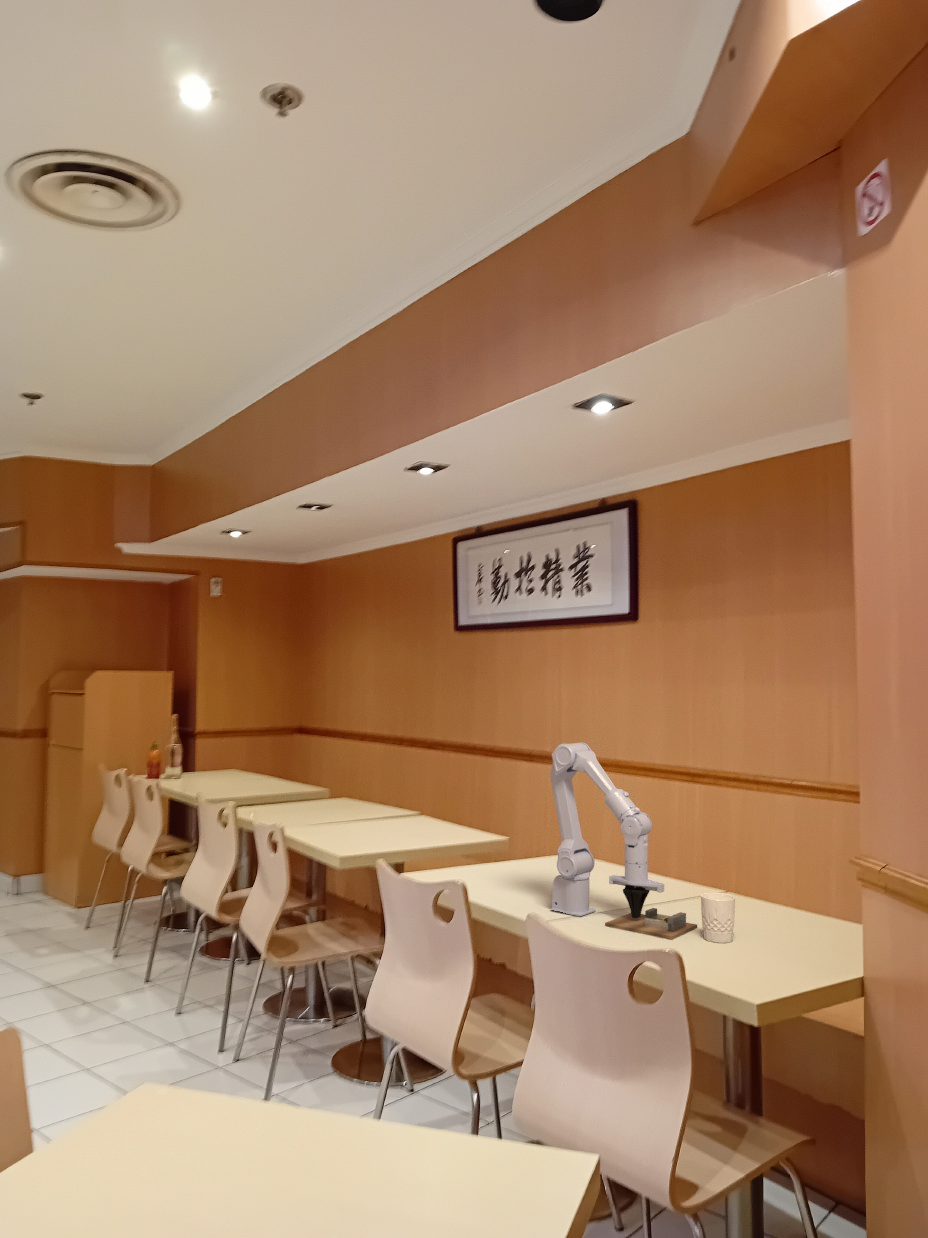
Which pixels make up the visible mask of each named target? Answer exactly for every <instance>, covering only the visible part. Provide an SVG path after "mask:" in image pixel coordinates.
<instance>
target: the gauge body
mask: <svg viewBox="0 0 928 1238" xmlns="http://www.w3.org/2000/svg"><path fill="white" fill-rule="evenodd" d="M657 915H661V916H667V917H668V921H662V920H658V919H653V918H648V917H646V918H645V927H650V928H655V929H660V930H665V931H670V932H675V931H677V930H680V929H682V928H684V927H686V923H687V913H686V912H682V911H681V912H677V913H675V914H673V915H666V914H661V913H657Z"/></svg>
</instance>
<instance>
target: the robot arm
mask: <svg viewBox="0 0 928 1238" xmlns="http://www.w3.org/2000/svg"><path fill="white" fill-rule="evenodd" d="M551 759H552V765H551V769H550V781H551V782H550V784H551V789H552V795H553V799H554V804H555V811H556V816H557V822H558V827H559V832H560V838H561V843H560V845H558V848H557V861H556V868H557V871H558V873H559V875H556V876H555V877H554V878H553V881H552V886H551V908H550V909H551V910H556V911H560V912H563V913H562V914H565V913H566V914H567V915H571V916H577V917H583V916H586V915H588V914H591V913H594V912H596V910H597V909H596V908H592V907H590V877H591V872H592V871H593V870H594V869H595V858H594V855H593V854H592V852H591V851H590V846H589V844H588V843H587V842H586V840H585V839H584V838H583V835H582V829H581V824H580V819H579V818H580V817H579V814H578V813H579V812H578V808H577V802H576V796H575V792H574V786H573V785H574V784H573V778H574V777H575V776H576V774H577V773H578V772H581V773H585V774H586V775H587V776H588V777H589V778H590V780H592V782H593V783H594V784H595V786H596V787H597V788H598V789H599V790H600V792H602V794H603V795H604V796H605V797H604V798H605V800H604V803H605V805H606V806H607V807H608V809H609V811H611V813H612V814H613V815H614V817H615V818H616V819H617V821H618V822H619V823H620V824H621V825H620V826H619V827H620V831H621V834H622V835H623V837H624V876H623V875H614V874H612V875H609V876H608V884H609V885H618V886H619V885H620V886H624V888H623V889H622V893H623V894H624V896H625V898H626V901H627V903H628V906H629V910H630V913H631V915H632V918H639V917H640V916H641V914H642V911H643V907H644V904H645V901H646V898H648V895H649V893H650V891H653V892H656V893H659V894H660V893H664V892H665V883H663V882H658V881H655V880H650V879H649V863H648V862H649V833H650V832H651V831H652V828H653V827H652V826H653V823H652V820H651V818H650V816H649V814H648V813H646V812H643V811H641V809H640V808H639V807H637V806H636V805H635V803H634V802H633V801H632V800H631V798H630V797H629V796H630V794H629V793H628V791H624V789H621V788H617V787H616V786H615V784H614V783H613V782H612V780H611V779H610V777H609V776H608V774H607V772H606V771H605V770H604V768H603V767H602V766H601V763H600V762H599V761H598V759H597V756H596V753H595V752H594V751H593V750H592V749H591V746H589V745H588V744H587V743H585V742H583V741H581V742H575V743H574V742H573V743H561V744H558V746H556V748H554V750H553V752H552V753H551ZM551 910H550V911H551ZM560 912H559V913H560ZM566 914H565V915H566Z"/></svg>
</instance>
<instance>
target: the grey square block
mask: <svg viewBox="0 0 928 1238" xmlns="http://www.w3.org/2000/svg"><path fill="white" fill-rule="evenodd" d="M657 914H658V908H657V907H656V908H655V907H652V908H649V909H646V910H645V913H644V915H645V918H646V917H648V918H653V919H658V920H662V921H668V917H667V916H668V915H667V916H661V915H657Z"/></svg>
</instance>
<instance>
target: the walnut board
mask: <svg viewBox="0 0 928 1238" xmlns="http://www.w3.org/2000/svg"><path fill="white" fill-rule="evenodd" d="M604 926H605V927H609V928H613V929H618V930H623V931H629V932H632V933H637V934H642V935H647V936H651V937H655V938H656V937H657V938H662V939H666V940H671V941H673V940H675V939H677V938H679V937H680V936H683V935H686V934H687V933H690V932H692V931H693V930H696V929H697V928H698V924H696V923H690V922H686V927H684V928H682V929H680V930H677V931H675V932H670V931H665V930H660V929H655V928H650V927H645V913H641V916H640V917H639V918H632V915H631V912H630V913H629V912H628V914H625V915H621V916H619V917H616V918H614V919H611V920H608V921H606V922H605V923H604Z"/></svg>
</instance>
